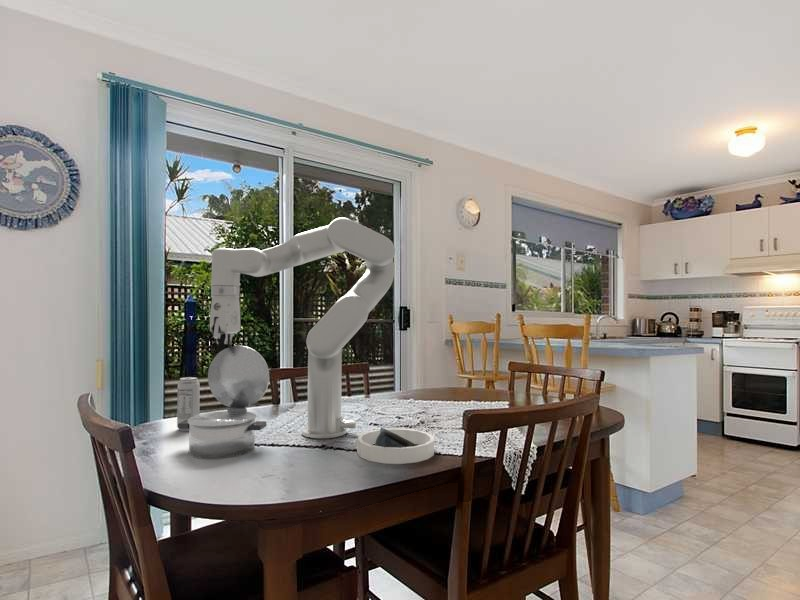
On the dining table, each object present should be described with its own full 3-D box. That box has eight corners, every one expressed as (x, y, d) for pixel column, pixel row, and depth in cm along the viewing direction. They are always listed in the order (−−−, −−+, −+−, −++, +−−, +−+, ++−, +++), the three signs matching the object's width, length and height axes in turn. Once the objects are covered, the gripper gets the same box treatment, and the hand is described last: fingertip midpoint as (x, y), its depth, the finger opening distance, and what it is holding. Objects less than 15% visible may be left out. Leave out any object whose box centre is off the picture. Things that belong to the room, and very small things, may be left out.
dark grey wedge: (422, 453, 126) (389, 418, 127) (427, 452, 119) (392, 416, 120) (396, 482, 123) (362, 446, 124) (400, 483, 116) (364, 445, 117)
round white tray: (434, 442, 133) (434, 429, 133) (433, 464, 114) (433, 449, 114) (364, 440, 135) (364, 427, 135) (351, 462, 116) (351, 447, 116)
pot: (275, 440, 135) (276, 410, 135) (250, 460, 117) (251, 426, 117) (200, 438, 137) (200, 409, 137) (164, 457, 119) (164, 424, 119)
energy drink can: (203, 427, 148) (204, 377, 148) (188, 432, 143) (188, 380, 143) (188, 426, 150) (188, 376, 151) (172, 430, 145) (172, 379, 145)
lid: (267, 412, 134) (272, 409, 138) (267, 346, 134) (272, 345, 138) (206, 411, 135) (213, 408, 139) (207, 345, 136) (213, 344, 140)
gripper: (226, 292, 131) (224, 361, 131) (249, 293, 146) (247, 356, 146) (199, 291, 132) (197, 360, 132) (224, 293, 147) (222, 355, 147)
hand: (223, 358), depth 139 cm, fingers closed
